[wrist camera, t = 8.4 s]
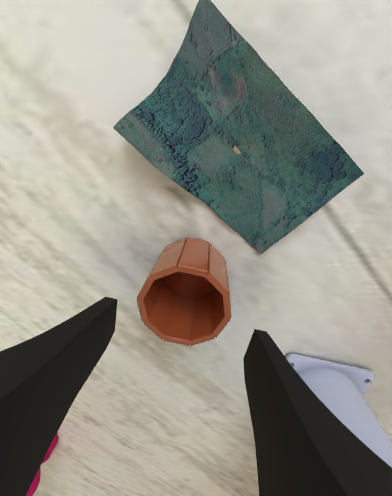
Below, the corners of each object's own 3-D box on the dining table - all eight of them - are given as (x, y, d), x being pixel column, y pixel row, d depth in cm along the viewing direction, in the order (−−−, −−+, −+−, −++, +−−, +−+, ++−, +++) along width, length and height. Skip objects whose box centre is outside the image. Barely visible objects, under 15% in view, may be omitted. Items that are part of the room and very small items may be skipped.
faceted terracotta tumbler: (218, 303, 19) (219, 352, 14) (153, 289, 19) (132, 334, 14) (234, 245, 17) (243, 279, 12) (162, 230, 17) (141, 257, 12)
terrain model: (349, 173, 14) (367, 175, 12) (258, 253, 17) (262, 263, 15) (201, 6, 12) (197, -20, 10) (123, 130, 14) (110, 127, 13)
